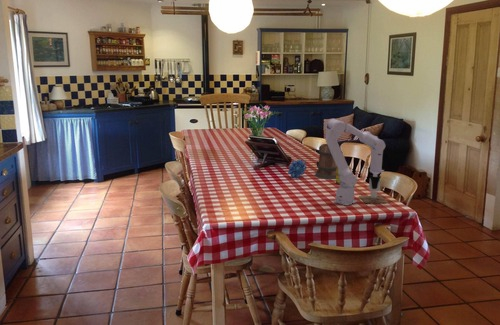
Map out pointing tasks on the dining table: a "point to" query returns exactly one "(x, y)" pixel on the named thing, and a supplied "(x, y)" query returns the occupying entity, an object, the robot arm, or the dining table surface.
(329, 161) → the tankard
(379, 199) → the board
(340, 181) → the supplement box
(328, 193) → the dining table surface
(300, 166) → the blue bumpy rounded lump
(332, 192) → the dining table surface
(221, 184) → the dining table surface
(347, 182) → the robot arm
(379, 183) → the sleeve
